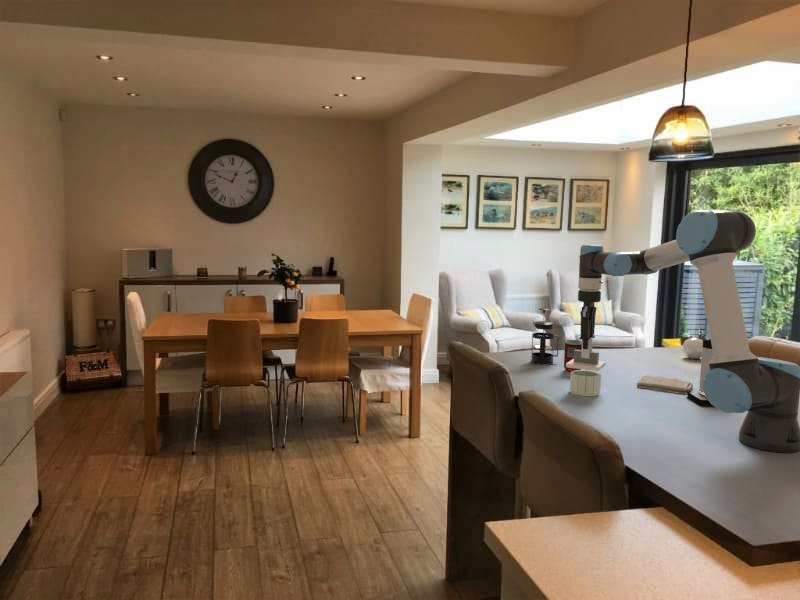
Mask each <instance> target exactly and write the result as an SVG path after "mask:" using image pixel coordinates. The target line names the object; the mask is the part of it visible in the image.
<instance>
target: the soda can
mask: <svg viewBox="0 0 800 600" xmlns="http://www.w3.org/2000/svg"><path fill="white" fill-rule="evenodd" d="M574 350H582V340H581V341H580V340H577V339H576V340H574V339H569V340H568V339H567V340H566V341H565V342H564V354H563V355H564V356H563V357H564V358H563V368H564V369H565V370H564V371H565V372H566V371H567V372H566V373H569V372H572V371H575V370H582V369H577V368H568V367H566V363H568V362H569V361H571V360H572V359H574Z"/></svg>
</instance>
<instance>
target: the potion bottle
mask: <svg viewBox="0 0 800 600" xmlns="http://www.w3.org/2000/svg"><path fill="white" fill-rule="evenodd" d="M703 340H704V339H701V338H698V337H689V338H687V339H686V340H685V341H684V342H683V344H682V345H681V346H682V352H683V353H684V355H685V356H686V357H688V358H690V359H691V360H698V359H700V358H702V349H703V348H702V346H703Z"/></svg>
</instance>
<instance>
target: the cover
mask: <svg viewBox="0 0 800 600" xmlns="http://www.w3.org/2000/svg"><path fill="white" fill-rule="evenodd" d="M606 362H607V361H605V360H600V352H599V351H593V350H592V351H590V358H589V359H587V358H581V350H574V359H572V360H571V361H569V362H568V363H566V367H568V368H577V369H581V370H588V371H595V372H599V371H600V370H601V369H602V368H604V367H605V366H606V364H607V363H606Z"/></svg>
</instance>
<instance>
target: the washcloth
mask: <svg viewBox="0 0 800 600" xmlns="http://www.w3.org/2000/svg"><path fill="white" fill-rule="evenodd" d="M693 384H694V383H691V381H686V380H682V379H678V378H676V377H673V378H671V377H670V378H668V377H664V376H654V375H644V376H642V377H641V378H640V380H638V381H637V383H636V386H637V388H639V389H640V388H641V389H646V388H647V389H646V390H653V389H656V390H655V391H661V390H664V391H663V392H668V391H670V392H669V393H675V392H678V393H677V394H682V393H687V392H689V391H690V392H691V390H692V389H693V387H694V385H693ZM691 388H692V389H691ZM690 392H689V393H690ZM687 394H688V393H687Z"/></svg>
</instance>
